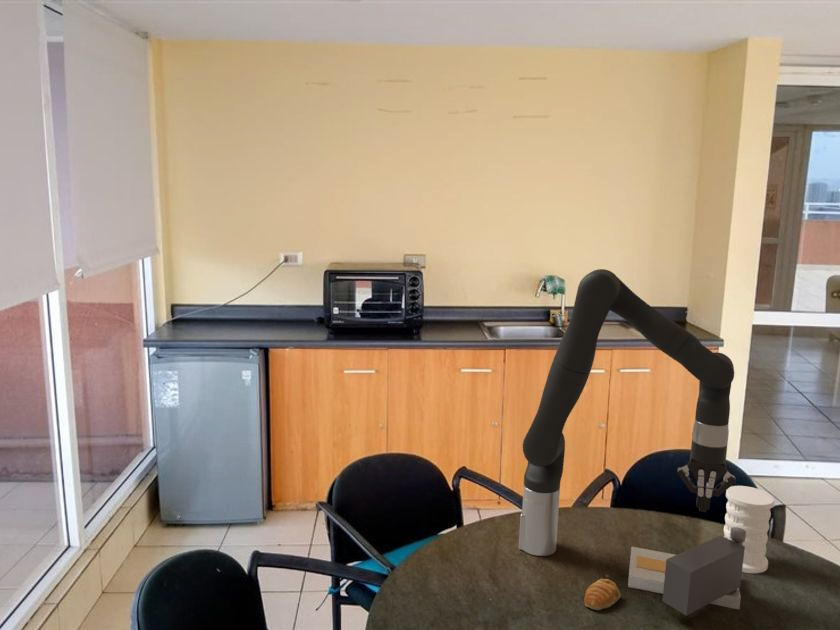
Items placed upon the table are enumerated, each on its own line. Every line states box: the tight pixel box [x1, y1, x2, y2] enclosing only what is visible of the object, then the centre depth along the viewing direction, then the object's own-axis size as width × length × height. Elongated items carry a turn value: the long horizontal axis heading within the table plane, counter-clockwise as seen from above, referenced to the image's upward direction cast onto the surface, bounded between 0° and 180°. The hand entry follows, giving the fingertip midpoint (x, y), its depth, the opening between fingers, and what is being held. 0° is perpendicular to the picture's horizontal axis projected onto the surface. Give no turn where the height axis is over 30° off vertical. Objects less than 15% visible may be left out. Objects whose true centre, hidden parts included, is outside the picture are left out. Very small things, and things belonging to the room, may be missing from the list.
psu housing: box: [627, 540, 743, 610], centre depth 158 cm, size 24×14×13 cm, turn 70°
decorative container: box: [723, 485, 775, 574], centre depth 168 cm, size 12×12×18 cm
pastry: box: [583, 578, 622, 611], centre depth 151 cm, size 9×7×4 cm
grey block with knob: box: [661, 527, 746, 616], centre depth 148 cm, size 24×6×12 cm, turn 123°
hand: (702, 510), depth 155 cm, fingers closed
